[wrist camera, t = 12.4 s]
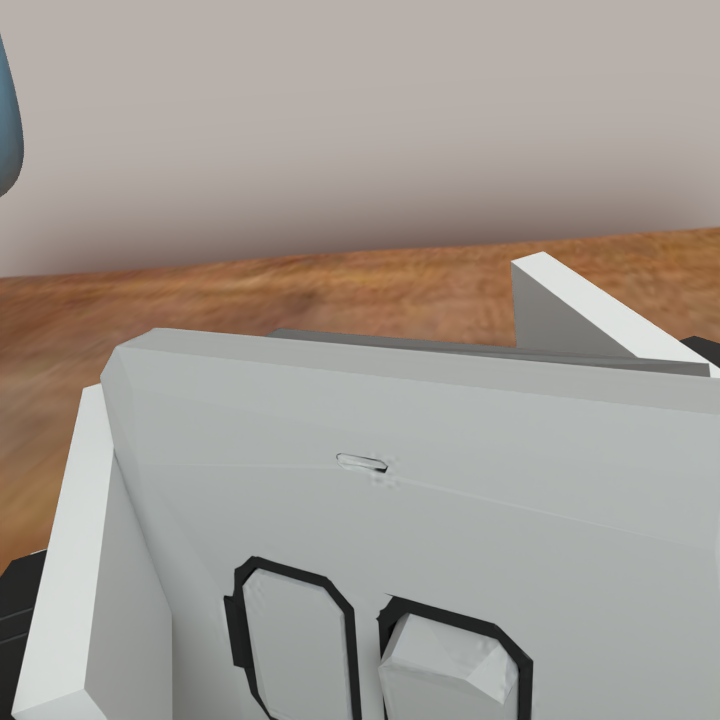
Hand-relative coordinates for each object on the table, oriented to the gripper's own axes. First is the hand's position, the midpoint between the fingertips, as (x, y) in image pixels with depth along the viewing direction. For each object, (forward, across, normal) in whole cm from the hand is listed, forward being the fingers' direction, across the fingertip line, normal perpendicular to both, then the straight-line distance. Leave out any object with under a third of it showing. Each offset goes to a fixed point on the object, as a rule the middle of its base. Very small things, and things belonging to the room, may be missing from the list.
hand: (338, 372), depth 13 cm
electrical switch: (-5, 0, -6) cm, 8 cm away
